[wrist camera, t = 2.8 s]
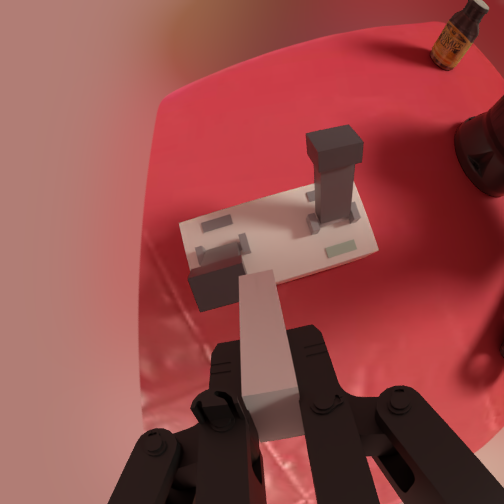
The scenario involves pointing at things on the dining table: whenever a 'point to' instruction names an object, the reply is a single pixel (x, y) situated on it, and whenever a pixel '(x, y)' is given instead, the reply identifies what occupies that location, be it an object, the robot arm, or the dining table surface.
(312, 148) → the inner lever
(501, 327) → the dining table surface
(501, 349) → the muzzle brake
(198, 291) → the outer lever
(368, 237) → the switch panel
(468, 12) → the sauce bottle
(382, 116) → the dining table surface
